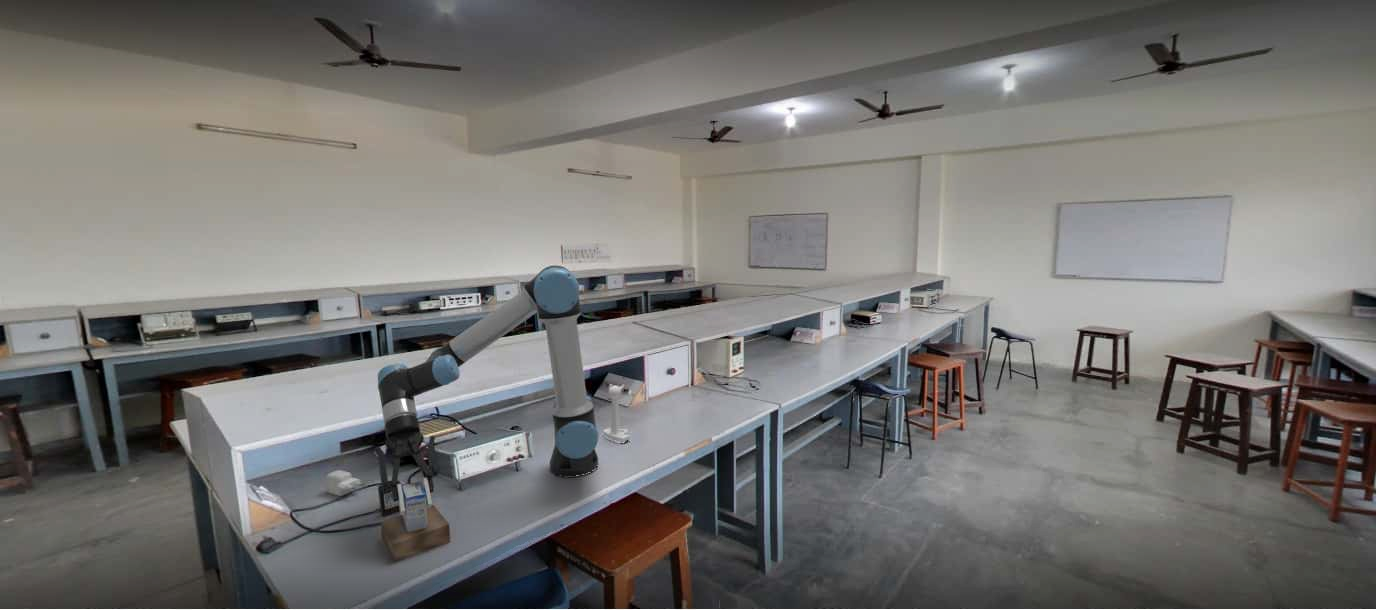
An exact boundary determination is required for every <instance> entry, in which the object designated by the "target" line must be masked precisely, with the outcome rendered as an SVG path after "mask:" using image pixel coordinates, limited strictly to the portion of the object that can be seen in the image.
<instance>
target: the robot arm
mask: <svg viewBox="0 0 1376 610" xmlns="http://www.w3.org/2000/svg"><path fill="white" fill-rule="evenodd" d="M580 293H581V291H580V284H579V282H578V279H577V278H576V276H575V275H574V274H573V273H572V272H571V271H570V270H569V269H568V268H565V267H564V266H561V265H549V266H546V267H544V268H543V269H542V270H540V272H538V273H537V274H536V275H535V276H534V277H533V278H531V280H530V281H528V282H527V283H526V284H524V285H523V286H522V288H521V292H518V293H517V294H516V295H514V296H512V298H511V297H510V299H508V300H507V301H506V302H504V303H502V305H500V306H499V307H497V308H496V309H494V310H492V311H491V312H489V314H487V315H486V316H484V317H483V318H481V319H480V320H478V321H477V322H475V323H474V324H473V325H472V326H470V327H468V328H467V329H465V330H464V331H462V332H461V333H460V334H459V335H456V336H455V337H453V338H452V339H451V340H449V342H447V343H445V344H444V345H443V346H440V347H438V348H436V349H435V350H434V351H432V352H431V354H430V355H429V357H428V358H427V359H426V360H425V361H424V362H422V363H420V364H417V365H415V366H412V367H407V365H405V364H403V363H395V364H388V365H386V366H384V367H382V368H381V369H380V370H379V371H378V373H377V389H378V393H379V399H380V405H381V410H382V417H383V423H384V431H385V437H386V442H385V444H384V445H382V446H375V447H374V456H375V458H376V459H377V461H378V470H379V476H380V483H381V484H380V486H381V485H382V488H383V489H385V488H390V489H391V491H392V497H393V501H394V502H395V501H399V507H400V516H401V515H405V506H404V500H403V493H402V487H401V486H402V483H401V484H398V485H397V481H398V480H399V479H398V478H399V472H400V464H401V458H403V457H406V456H407V457H408V456H412V457H413V459H414V461H415V462H416V464H417V466H418V468H419V470H420V472H421V474H422V476H423V478H422V480H423V481H422V487H423V489H424V491H425V494H426V499H427V508H431V505H433V502H432V497H431V493H433V492H434V489H435V486H434V481H433V480H434V478H435V477H437V476H439V473H440V467H439V461H438V459H437V453H436V449H435V440H436V437H435V436H434V435H431V436H424V434H423V433H422V431H421V428H420V423H419V418H418V413H417V408H416V407H417V406H416V402H415V397H417V396H419V395H421V394H424V393H427V392H429V391H432V390H435V389H438V388H440V387H443V386H448V385H450V384H451V383H454V382H456V381H457V380H459V378H460V367H461V366H463V365H465V363H467V361H469V360H471V359H472V358H474V357H476V355H478V354H479V353H480V352H482V351H484V350H485V349H486V348H488V347H489V346H491V345H492V344H493V343H495V342H496V341H498V340H499V339H501V338H503V336H505V335H507V334H508V333H509V332H511V331H512V330H513V329H515V328H517V327H518V326H520V324H522V323H524V322H525V321H526V320H528V319H530V318H531V317H532V316H533V315H535V314H536V313H537V315H538V320H540V321H541V322H542V323H544V326H545V332H546V333H545V334H546V339H547V347H548V353H549V359H550V361H549V362H550V368H551V374H552V381H553V382H552V383H553V389H554V394H555V395H554V397H555V399H554V401H553V407H552V408H553V409H552V412H551V413H552V419H553V421H552V422H553V426H554V427H553V428H554V446H553V450H552V453H551V456H550V460H549V471H550V472H551V474H553V473H554V474H553V475H555V474H556V475H555V476H557V475H561V476H560V477H562V476H576V475H582V474H586V473H588V472H591V471H592V470H594V469H595V468H596V467H597V465H598V466H599V457H598V454H597V453H598V452H597V451H596V447H597V445H598V441H599V431H598V429H597V426H596V425H597V424H596V417H595V410H594V403H593V401H592V398H591V396H590V395H587V389H586V384H585V383H586V382H585V374H584V367H583V360H582V359H583V358H582V352H581V344H580V336H579V329H578V321H577V319H578V318H579V317H580V315H582V310H581V301H580ZM423 443H424V445H425V446H426V447H427V452H428V457H429V461H430V462H429V463H430V467H431V469H430V468H429V466H428V464H427V462H426V460H425V458H424V456H423V455H422V453H421V450H420V447H421V445H422V444H423ZM387 450H388V452H390V453H391V454H393V455H394V460H393V467H392V468H393V469H392V474H391V480H388V479H389V478H388V472H387V466H386V465H387V464H386V457H385V456H386V453H387ZM597 468H598V467H597ZM591 473H592V472H591Z"/></svg>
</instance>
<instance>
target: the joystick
mask: <svg viewBox="0 0 1376 610" xmlns="http://www.w3.org/2000/svg"><path fill="white" fill-rule="evenodd" d="M621 394H622V389H621V387H620V386H619V385H611V386H610V387H609V389H608V395H609V397H610V398H611V407H610V408H611V413H610V427H608V428H605V429H603V431H602V432H603V433H602V434H603V435H604V436H606V437H608V438H610V439H612V440H616V441H621V442H624V441H626V442H628V441H627V440H629V439H630V440H631V436H630V435H629V434H628V433H629V430H628V429H626V428H621V427H620V425H621V424H620V409H619V397H620V396H621Z"/></svg>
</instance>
